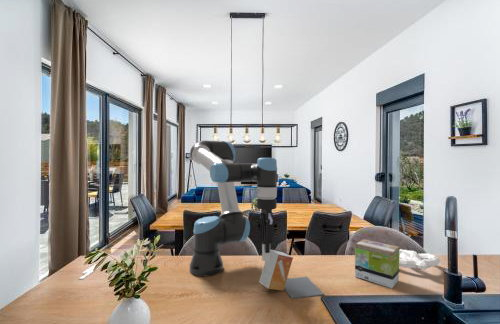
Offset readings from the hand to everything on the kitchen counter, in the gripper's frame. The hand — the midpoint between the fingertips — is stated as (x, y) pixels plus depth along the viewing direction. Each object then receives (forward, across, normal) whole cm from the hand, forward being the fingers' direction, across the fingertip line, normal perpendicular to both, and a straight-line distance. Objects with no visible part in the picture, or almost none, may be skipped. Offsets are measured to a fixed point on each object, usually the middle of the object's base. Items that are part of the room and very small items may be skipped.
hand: (266, 260), depth 99 cm
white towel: (+11, -12, +73) cm, 75 cm away
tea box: (+12, -1, +49) cm, 51 cm away
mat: (+12, -1, +14) cm, 18 cm away
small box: (+11, -1, +2) cm, 11 cm away
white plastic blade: (+13, -33, -73) cm, 81 cm away
